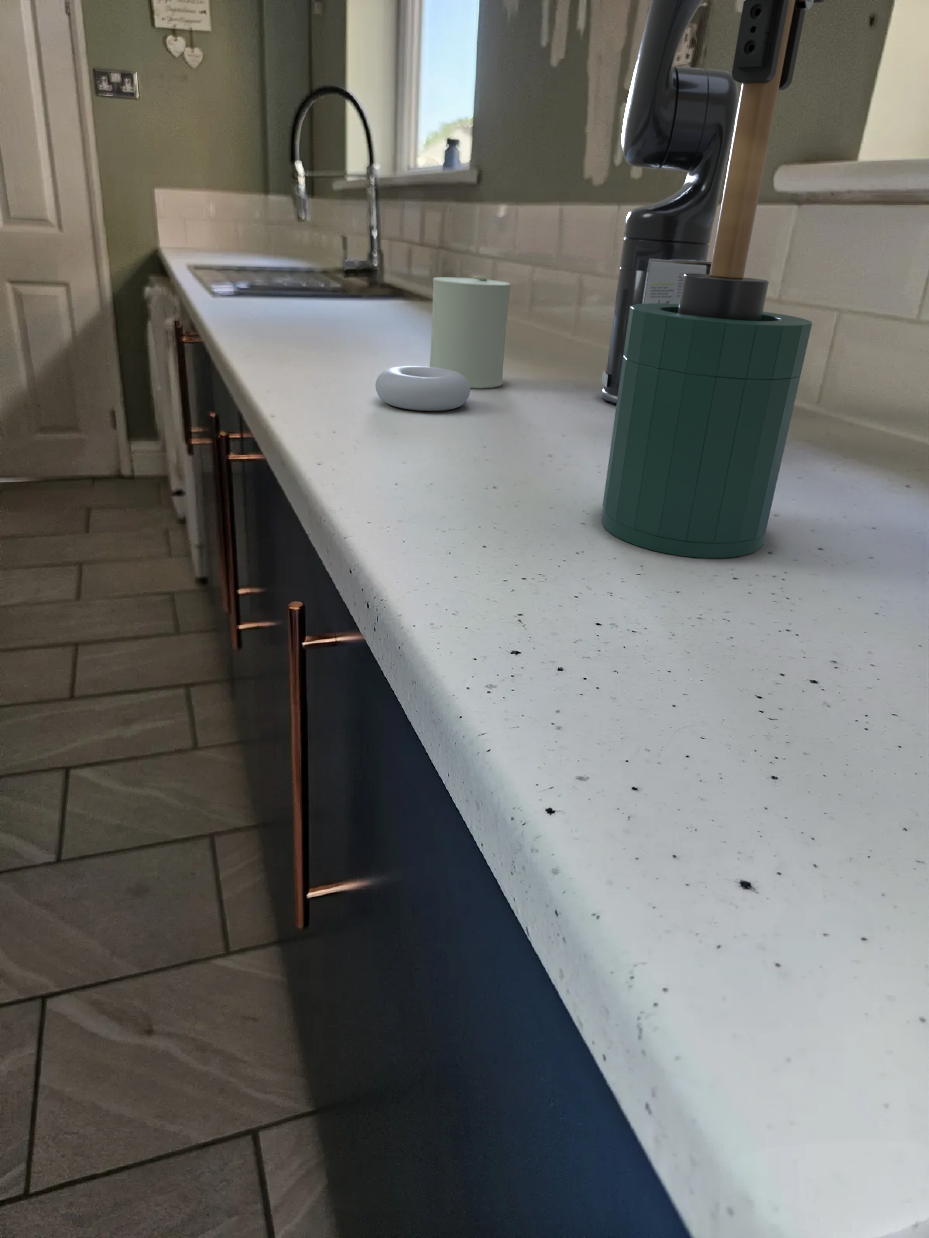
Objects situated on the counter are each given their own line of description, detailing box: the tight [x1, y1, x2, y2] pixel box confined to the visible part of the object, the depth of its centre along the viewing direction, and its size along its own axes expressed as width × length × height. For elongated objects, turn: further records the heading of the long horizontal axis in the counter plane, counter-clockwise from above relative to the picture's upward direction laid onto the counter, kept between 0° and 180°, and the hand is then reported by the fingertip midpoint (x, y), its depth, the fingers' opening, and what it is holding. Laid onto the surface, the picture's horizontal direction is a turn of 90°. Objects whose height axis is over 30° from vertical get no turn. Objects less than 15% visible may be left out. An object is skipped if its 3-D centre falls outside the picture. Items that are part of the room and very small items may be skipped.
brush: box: [678, 0, 795, 321], centre depth 50 cm, size 5×5×20 cm
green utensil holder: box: [601, 303, 813, 559], centre depth 56 cm, size 11×11×14 cm
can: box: [429, 275, 512, 389], centre depth 104 cm, size 9×9×12 cm
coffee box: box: [642, 259, 712, 304], centre depth 81 cm, size 9×6×16 cm
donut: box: [375, 365, 471, 412], centre depth 91 cm, size 10×4×10 cm
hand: (760, 84), depth 48 cm, fingers closed on brush
